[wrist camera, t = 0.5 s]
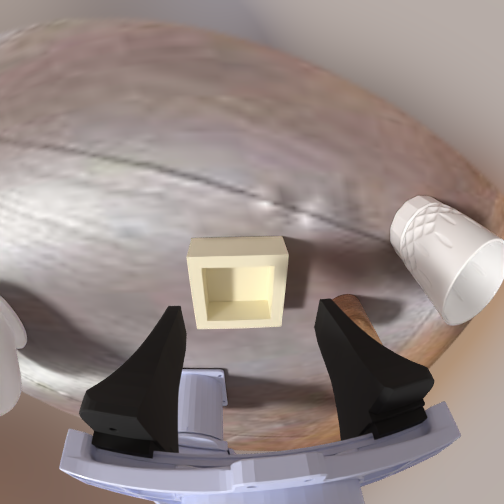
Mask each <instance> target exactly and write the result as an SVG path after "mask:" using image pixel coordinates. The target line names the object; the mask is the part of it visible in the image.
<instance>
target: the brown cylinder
mask: <svg viewBox="0 0 504 504" xmlns="http://www.w3.org/2000/svg"><path fill="white" fill-rule="evenodd" d="M333 301H334V302H335V303H336V304H337V305H338V306H339V308H340V309H341V310H342V311H343V312H344V313H345V314H346V315H347V316H348V317H349V318H350V319H351V320H352V321H353V322H355V323H356V324H357V325H358V326H359V327H360V328H361V329H362V330H363V331H365V332H366V333H367V334H368V335H369V336H371V337H372V338H373V339H375V340H376V341H377V342H379V343H380V344H381V345H382V343H381V341H380V339H379V337H378V335H377V333H376V331H375V329H374V327H373V326H372V324H371V322H370V320H369V318H368V316H367V314H366V313H365V311H364V309H363V307H362V305H361V303H360V302H359V300H358V298H357V297H356V296H354V295H351V294H344V295H340V296H338V297H336V298H334V299H333Z"/></svg>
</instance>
